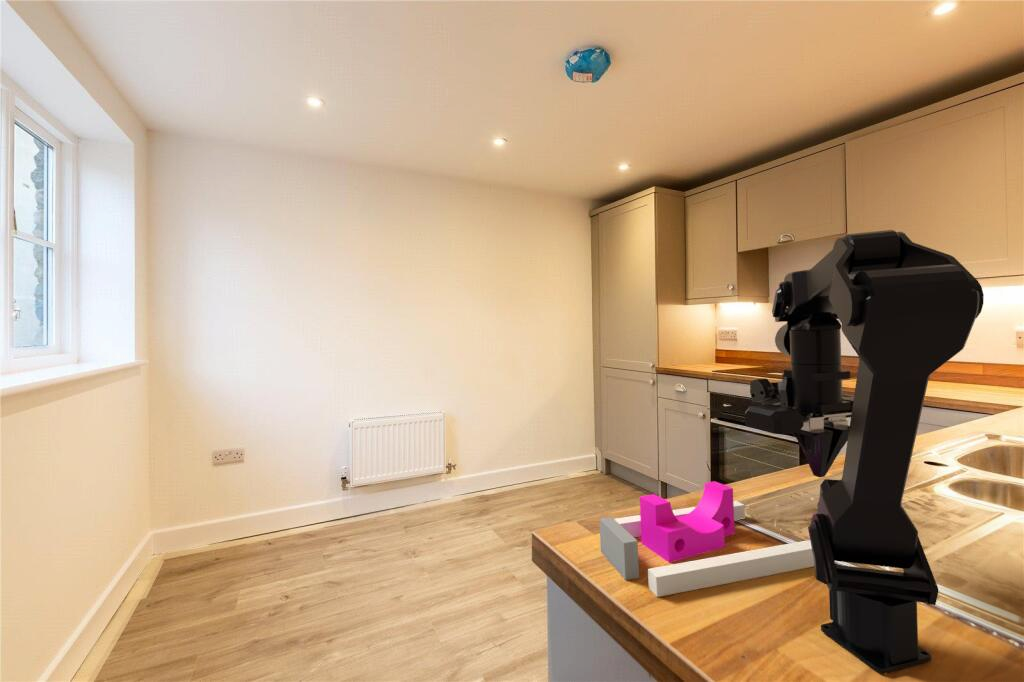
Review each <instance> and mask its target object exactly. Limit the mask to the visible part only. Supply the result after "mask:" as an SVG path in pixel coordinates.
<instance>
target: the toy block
mask: <svg viewBox="0 0 1024 682" xmlns="http://www.w3.org/2000/svg"><path fill="white" fill-rule="evenodd" d="M733 501H734V488H733V487H730V486H728V485H726V484H723V483H720V482H719V481H718V482H717V481H715V480H714V481H709V482H705V483H704V490H703V493H702V497H701V498H700V501H699V502H698V504H697V505H696V506H695V507H696V508H695V509H694V510H693V511H691V512H690V513H689V514H687V515H685V516H682V517H675V515H674V513H673V511H672V510H673V509H672V506H671V502H670V501H668V500H667V499H665V498H663V497H661V496H659V495H657V494H655V493H651V494H647V495H642V496H639V510H640V511H639V512H640V514H639V515H640V517H641V536H640V537H641V539H640V540H641V544H642V545H643V546H644V547H646V548H647V549H649V550H650V551H652V552H653V553H654V554H655V555H657V556H659V557H660V558H662V559H663V560H665V561H666V562H668V563H673V562H677V561H680V560H683V559H686V558H690V557H694V556H698V555H701V554H704V553H708V552H712V551H715V550H719V549H722V548H725V547H726V546H725V544H726V543H725V537H728V536H731V535H734V534H735V531H736V530H735V521H734V504H733ZM735 535H736V534H735Z"/></svg>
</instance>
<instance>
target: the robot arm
mask: <svg viewBox="0 0 1024 682" xmlns="http://www.w3.org/2000/svg"><path fill="white" fill-rule="evenodd" d="M983 306H984V291H983V287H982V285H981V283H980V282H979V280H978V279H977V278H976V277H975V276H974V275H973V274H972V273H971V272H970V271H969V270H968V269H967V268H966V267H965V266H964V265H963V264H962V263H961V262H960V261H959V260H958V259H957V258H956V257H955V256H953V255H951V254H948V253H945V252H942V251H940V250H937V249H934V248H931V247H928V246H924V245H923V244H919V243H916V242H914V241H912V240H911V239H910V238H909V237H908V236H907V234H906V233H905V232H903V231H895V230H893V229H887V230H877V231H867V232H859V233H848V234H845V235H844V236H843V237H838V238H836V239H835V241H834V244H833V247H832V249H831V250H830V251H829V252H828V253H827V254H826V255H824V257H823V258H821V259H820V260H819V261H818V262H817V263H816V264H815V265H813V267H811V268H810V269H809V268H808V269H805V270H803V269H802V270H797V271H792V272H788V273H787V274H785V276H784V278H783V281H781V282H780V283H779V284H778V288H777V289H776V290H775V294H774V298H773V304H772V309H771V313H772V317H773V318H774V323H782V322H783V323H784V322H786V323H785V324H783V325H782V326H780V327H779V328H778V331H777V332H776V334H775V336H774V342H775V343H774V344H775V347H776V348H777V350H778V351H779V352H780V353H781V354H783V355H784V356H787V357H789V358H790V369H784V370H783V372H782V377H781V379H782V380H781V381H777V382H775V381H774V382H770V380H769V379H768V378H757V379H753V380H750V384H749V385H750V386H749V388H750V389H749V393H750V398H751V400H752V402H754V403H759V402H761V404H759V405H758V404H757V405H750V406H749V407H747V409H746V410H745V411H744V426H745V427H749V428H752V429H755V430H759V431H763V432H766V433H770V434H773V435H787V434H792V436H793V437H795V439H796V440H797V442H798V444H799V446H800V448H801V450H802V453H803V454H804V456H805V458H806V460H807V464H808V466H809V467H810V470H811V473H812V475H813V476H814V477H818V478H825V477H826V475H827V474H828V472H829V470H830V469H831V467H832V466H833V463H834V462H835V460H836V459H837V457H838V455H839V454H840V452H841V451H842V449H843V448H844V446H845V445H846V448H845V449H846V450H845V456H844V463H843V468H842V469H843V470H842V476H841V479H829V478H827V479H824V480H822V483H820V485H819V486H820V487H819V498H818V502H817V509H816V513H813V514H812V516H811V521H810V523H809V524H810V525H809V526H808V528H807V530H808V535H809V540H810V541H811V547H812V552H813V557H814V565H815V566H814V578H815V579H816V581H817V582H820V583H822V584H824V585H826V586H827V588H828V597H829V619H830V620H831V621H832V622H831V621H830V622H827V623H822V624H821V625H820V630H821V632H822V633H824V634H825V636H828V637H829V638H831V639H832V640H834V642H836V643H837V644H839V645H840V646H841V647H843V648H844V649H846V650H847V651H848V652H850V653H851V654H853V656H855V657H856V658H858V659H859V660H861V661H862V662H863V663H865V664H866V665H868V666H869V667H870V668H872V669H873V670H874V671H876V672H878V673H882V674H886V673H890V672H895V671H898V670H901V669H906V668H909V667H913V666H916V665H920V664H924V663H927V662H931V661H932V654H931V653H930V652H929V651H927V650H926V649H924V648H922V647H921V646H919V633H918V630H919V629H918V603H923V604H927V605H931V606H936V604H937V601H938V595H939V587H938V584H937V582H936V579H935V576H934V574H933V572H932V568H931V566H930V563H929V561H928V558H927V555H926V553H925V551H924V549H923V546H922V543H921V540H920V537H919V531H918V529H917V527H916V525H915V524H914V523H913V521H912V519H911V518H910V517H909V514H908V512H907V511H906V509H905V507H904V506H903V503H902V502H903V498H904V492H905V489H906V488H905V487H906V484H907V480H908V479H907V478H908V475H909V470H910V466H911V461H912V457H913V453H914V448H915V447H914V446H915V442H916V439H917V434H918V429H919V424H920V420H921V415H922V411H923V407H924V402H925V398H926V393H927V388H928V383H929V380H930V377H931V375H932V374H933V373H935V371H937V370H938V369H940V368H941V367H942V366H943V365H945V364H946V363H947V362H949V360H951V359H953V358H954V357H955V356H956V355H958V354H959V353H960V352H961V351H963V350H964V348H965V347H966V344H967V341H968V339H969V336H970V334H971V332H972V329H973V326H974V324H975V322H976V319H977V318H978V317H979V315H980V314H981V312H982V309H983ZM841 332H842V333H843V335H844V337H845V338H846V339H847V341H848V343H849V344H850V345H851V348H852V349H853V350H854V351H855V353H856V354H857V356H858V365H857V366H858V367H857V373H856V381H855V385H854V386H855V387H854V394H853V395H851V396H843V380H850V379H851V371H850V370H842V369H843V367H842V345H841V344H842V343H841V341H842V340H841V339H842V338H841V336H842V335H841ZM847 418H850V423H849V421H848V420H847ZM836 562H840V563H841V562H842V563H844V562H845V563H849V564H858V565H868V566H877V567H887V568H894V569H902V570H903V572H901V571H892V570H886V569H885V570H884V569H876V568H866V567H859V566H851V565H843V564H842V565H840V564H836Z"/></svg>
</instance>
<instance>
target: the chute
mask: <svg viewBox="0 0 1024 682" xmlns="http://www.w3.org/2000/svg"><path fill="white" fill-rule="evenodd" d="M733 504H734V522H737V520H738V519H740V518H745V519H746V512H745V511H746V510H745V508H746V507H745V504H744V503H742V502H739V501H738V500H733ZM695 508H696V506H692V507H690V506H689V507H685V508H677V509H672V511H673V513H674V515H675V517H682V516H685V515H687V514H689V513H690V512H691V511H693V510H694V509H695ZM598 521H599V540H600V541H599V542H600V552H601V554H602V555H603V556H604V557H605V558H606V559H607V560H608V561H609V563H610V564H611V565H612V566H613V567H614V569H615V570H616V571H617V572H618V573H619V574H620V576H621V577H622V578H623V579H624V580H625V581H627V580H633V579H637V578H640V568H639V566H640V565H639V546H638V545H639V543H638V540H637V539H636V538H637V537H641V517H640V514H638V515H630V516H625V517H617V518H614V517H612V516H609V517H602V518H599V519H598ZM808 568H815V565H814V557H813V552H812V547H811V541H810V539H807V540H803V541H796V542H790V543H786V544H785V543H784V544H780V545H774V546H769V547H764V548H757V549H751V550H747V551H741V552H736V553H735V552H734V553H730V554H723V555H719V556H712V557H707V558H702V559H697V560H696V559H695V560H691V561H685V562H679V563H674V564H668V565H662V566H656V567H651V568H648V569H647V578H648V581H647V582H648V589H649V590H650V591H651V592H652V593H653V594H654V596H656V598H659V597H663V596H664V597H665V596H669V595H674V594H675V595H676V594H679V593H685V592H689V591H696V590H700V589H706V588H710V587H715V586H720V585H727V584H731V583H736V582H741V581H747V580H752V579H756V578H762V577H767V576H771V575H777V574H782V573H788V572H792V571H798V570H803V569H808Z"/></svg>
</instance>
